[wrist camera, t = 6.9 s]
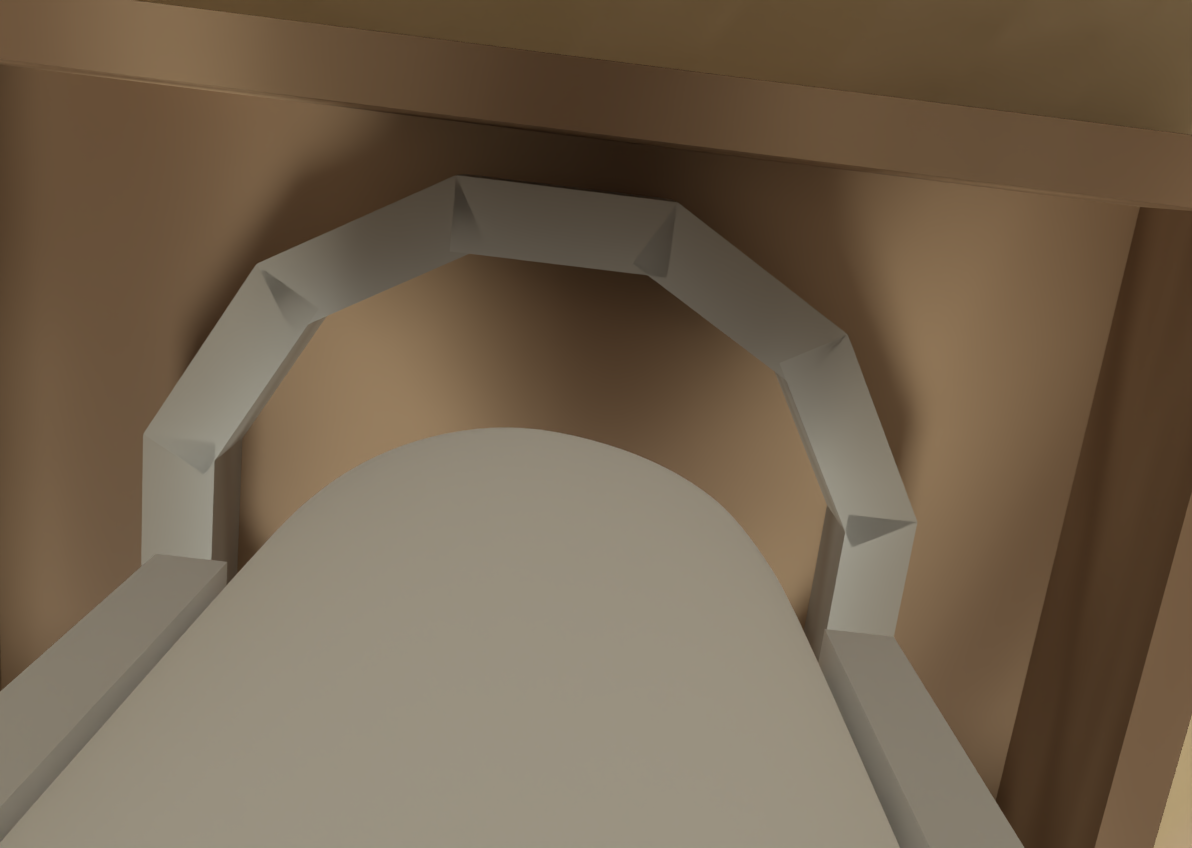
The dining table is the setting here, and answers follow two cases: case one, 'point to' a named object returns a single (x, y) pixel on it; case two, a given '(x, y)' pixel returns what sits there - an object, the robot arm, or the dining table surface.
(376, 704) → the can
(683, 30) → the dining table surface
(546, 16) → the dining table surface
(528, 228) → the walled box
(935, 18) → the dining table surface
